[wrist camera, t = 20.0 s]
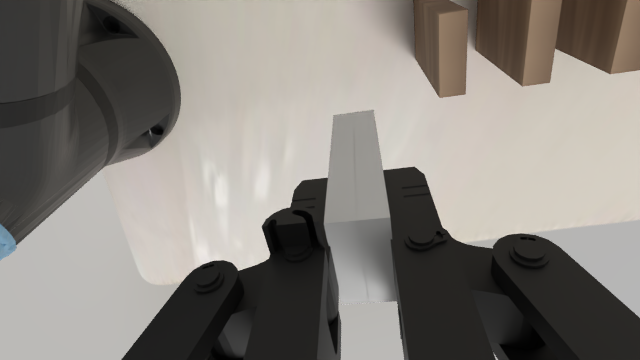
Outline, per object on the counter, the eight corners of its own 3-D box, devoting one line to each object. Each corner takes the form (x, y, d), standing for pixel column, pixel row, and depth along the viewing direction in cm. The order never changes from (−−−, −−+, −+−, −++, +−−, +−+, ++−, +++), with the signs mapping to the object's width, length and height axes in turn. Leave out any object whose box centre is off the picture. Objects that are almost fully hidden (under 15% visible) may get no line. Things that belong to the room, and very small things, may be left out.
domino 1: (415, 59, 32) (439, 98, 24) (413, -4, 30) (439, 14, 21) (434, 56, 32) (465, 94, 24) (433, -7, 30) (468, 9, 21)
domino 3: (538, 40, 31) (610, 74, 22) (546, -28, 28) (631, -19, 20) (558, 37, 31) (639, 70, 22) (569, -32, 28) (665, -25, 20)
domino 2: (475, 50, 32) (522, 86, 23) (478, -15, 29) (532, -2, 21) (495, 47, 31) (550, 82, 23) (499, -19, 29) (563, -7, 20)
